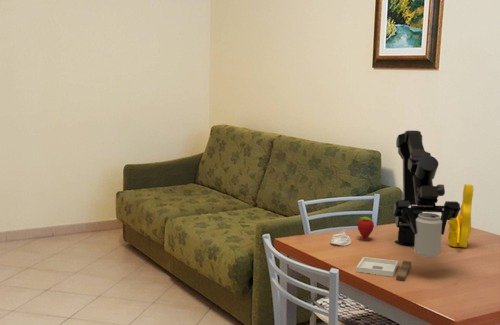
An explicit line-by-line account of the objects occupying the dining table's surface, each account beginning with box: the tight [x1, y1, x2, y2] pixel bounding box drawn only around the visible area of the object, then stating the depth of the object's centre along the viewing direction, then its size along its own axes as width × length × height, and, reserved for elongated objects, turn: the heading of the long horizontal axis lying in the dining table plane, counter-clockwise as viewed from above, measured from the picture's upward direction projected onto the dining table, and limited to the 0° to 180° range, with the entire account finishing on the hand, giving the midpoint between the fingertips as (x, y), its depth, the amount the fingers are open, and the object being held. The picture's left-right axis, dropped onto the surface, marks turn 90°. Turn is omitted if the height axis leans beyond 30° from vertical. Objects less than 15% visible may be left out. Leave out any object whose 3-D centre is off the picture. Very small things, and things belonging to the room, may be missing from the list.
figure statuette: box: [447, 184, 474, 249], centre depth 203 cm, size 18×8×22 cm, turn 170°
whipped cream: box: [330, 231, 352, 247], centre depth 206 cm, size 8×7×5 cm
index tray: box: [355, 256, 399, 278], centre depth 179 cm, size 11×11×2 cm
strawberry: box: [356, 216, 375, 240], centre depth 211 cm, size 6×8×10 cm
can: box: [413, 212, 442, 258], centre depth 172 cm, size 8×8×12 cm
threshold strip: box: [395, 260, 412, 282], centre depth 176 cm, size 16×2×1 cm, turn 158°
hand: (429, 233), depth 170 cm, fingers closed on can, 7 cm apart
